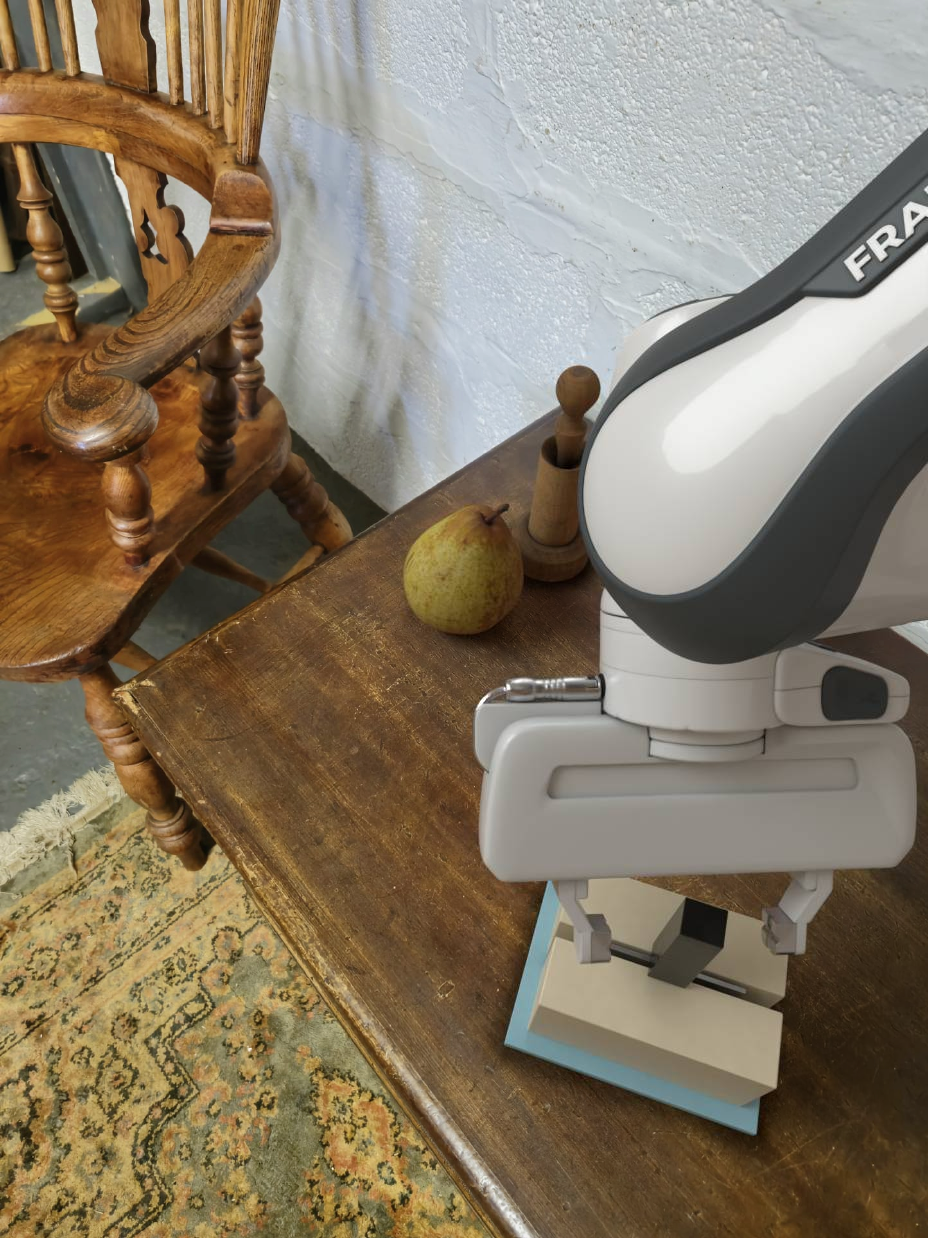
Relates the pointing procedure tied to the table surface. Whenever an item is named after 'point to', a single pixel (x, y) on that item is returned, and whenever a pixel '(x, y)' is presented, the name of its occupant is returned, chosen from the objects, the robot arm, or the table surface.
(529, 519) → the mortar and pestle
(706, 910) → the slider knob post
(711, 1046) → the slide lever switch
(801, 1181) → the table surface
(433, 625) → the fruit
